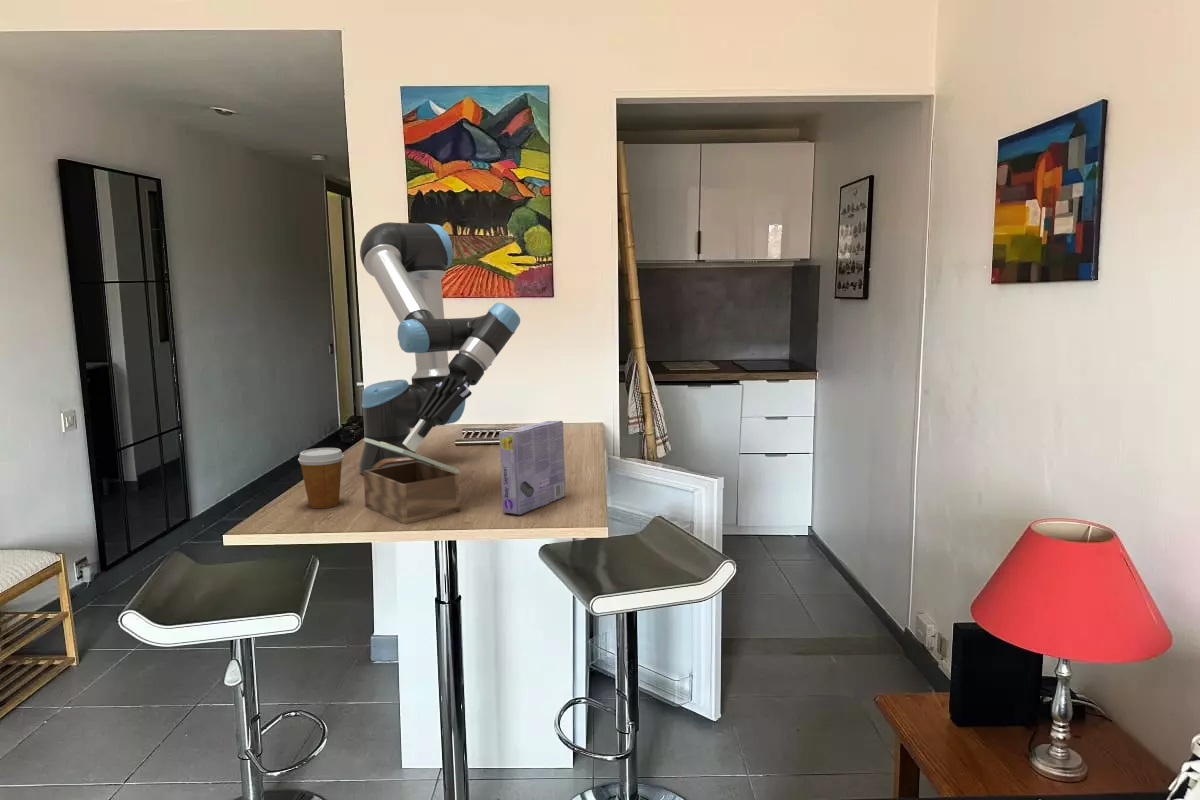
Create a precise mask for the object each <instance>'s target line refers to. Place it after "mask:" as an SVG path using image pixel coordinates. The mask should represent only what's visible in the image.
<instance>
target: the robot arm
mask: <svg viewBox="0 0 1200 800" xmlns="http://www.w3.org/2000/svg"><path fill="white" fill-rule="evenodd" d="M453 256H454V251H453V244H452V240H451V237H450V235H449V233H448V232H447V231H446V229H445V228H444V227H443V226H442V225H439V224H434V223H427V222H425V223H424V222H423V223H422V222H421V223H419V222H415V223H414V222H389V221H388V222H382V223H379V224H377V225H375V226H374V227H372V228H371V229H369V230H368V232H366V234H365V235H364V237H363V239H362V241H361V244H360V248H359V257H360V260H361V264H362V265H363V268H364V270H365V272H367V273H368V274H369V275H370V276H372V277H374V279H375V281H376V282H377V284H378V287H380V289H381V291H382V293H383V295H384V297H385V298H386V300H387V302H388V304H389V307H391V310H392V311H393V313H394V315H395V317H396V318H397V320H398V322H399V324H398V327H397V340H398V342H399V343H398V345H399V347H400V349H401V350H402V351H404V352H405V353H408V354H410V353H413V354H414V357H415V367H416V371H415V373H414V374H413V375H412V376H411V384H409V382H408V381H407V380H406V379H394V380H393V379H391V380H385V381H379V382H376V383H371V384H370V385H368V386H366V387H365V388H364V389H363V391H362V398H361V399H362V401H361V402H362V403H361V408H362V415H363V430H364V431H363V433H364V439H365V438H368V439H372V440H375V441H378V442H381V441H382V442H385V443H388V444H391V445H394V446H396V447H399V448H402V449H405V450H408V451H410V452H413V453H416V450H417V449H418V448H419V446H420V445H421V443H422V442H423V441H424V440H425V438H426V436H427V435H428V434H429V432H431V430H432V429H433V428H435V427H436V426H439V427H441V426H445V425H449V424H454V423H456V422H458V421H459V420H460V419H461V417H463V413H464V411H465V409H466V408H465V407H466V400H467V399H468V398H469V397H470V396H472V394H473V393H472V391H471V390H470V389H469V388H470V387H471V386H476V385H477V384H478V383H479V381H480V380H481V378H482V377H483V376H484V374H485V372H486V371H487V370H488V369H489V367H491V366H492V364H493V362H494V360H495V359H496V358H497V356H498V355H499V354H500V352H501V351H502V350H503V349H504V347H505V345H506V344H507V343H508V342H509V340H510V339H511V338H512V337H513V335H514V334H515V333H516V331H517V329H518V327H519V326H520V324H521V318H520V315H519V313H518V312H516V311H517V310H515V309H514V308H513V307H511V306H510V305H508V304H507V303H506V304H505V303H503V302H495V303H494V304H493V305H492V306H491V307H490V308H489V309H488V310H487V312H486V314H484V315H481V316H475V317H460V318H459V317H456V318H454V317H453V318H445V311H444V310H445V309H444V298H443V287H442V279H443V278H444V277H445V276H446V274H447V269H448V268H450V266H451V265H452V263H453ZM450 351H451V352H452V351H458V353H456V354H455V355H454V356H453V357H452V359H451V361H450V362H449V355H448V352H450ZM411 429H412V430H411ZM399 457H407V456H404V455H401V454H398V453H395V452H393V451H390V450H387V449H384V448H382V447H379V446H376V445H373V444H371V443H368V442H365V441H364V445H363V449H362V453H361V457H360V461H359V464H358V465H359V466H358V467H359V474H360V473H361V474H360V475H362V474H363V471H365V470H371V469H372V468H373V467H374V465H375V464H376V463H378V462H379V461H381V460H383V459H388V458H399ZM363 476H364V474H363Z"/></svg>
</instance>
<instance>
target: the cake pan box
mask: <svg viewBox="0 0 1200 800" xmlns="http://www.w3.org/2000/svg"><path fill="white" fill-rule="evenodd" d="M498 434H499V435H498V437H499V455H500V456H499V457H500V477H501V501H502V512H503V513H504V514H505V513H506V514H510V515H515V516H522V515H523V514H525V513H528V512H530V511H531V512H532V511H533V510H536V509H540V508H543V507H544V505H545V506H547V505H549V504H551V503H553V502H555V501H558V500H560V499H563V498H562V497H564V496H565V497H566V472H565V470H566V469H565V444H564V442H565V441H564V422H563V420H546V421H541V422H537V423H533V424H527V425H522V426H519V427H516V428H515V427H514V428H510V429H505V430H501V431H499V433H498ZM565 497H564V498H565ZM557 499H558V500H557ZM552 501H553V502H552ZM550 502H551V503H550ZM539 507H540V508H539Z"/></svg>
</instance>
